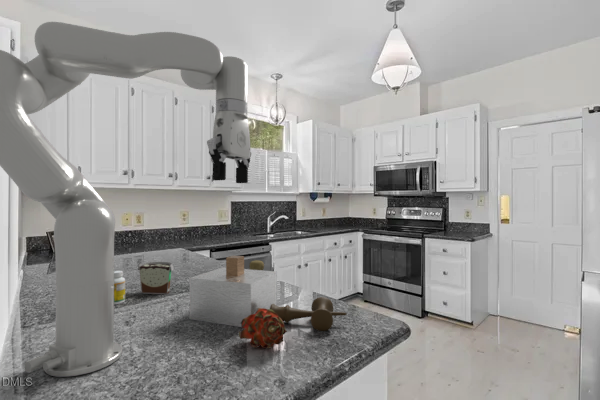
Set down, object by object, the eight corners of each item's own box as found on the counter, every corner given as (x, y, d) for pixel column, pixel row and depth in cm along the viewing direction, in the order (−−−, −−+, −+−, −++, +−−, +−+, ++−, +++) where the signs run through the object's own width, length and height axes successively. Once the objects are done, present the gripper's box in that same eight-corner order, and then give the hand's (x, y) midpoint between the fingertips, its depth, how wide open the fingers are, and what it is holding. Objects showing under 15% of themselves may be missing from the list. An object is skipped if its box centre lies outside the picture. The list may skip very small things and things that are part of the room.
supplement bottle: (128, 301, 102) (129, 271, 102) (111, 306, 97) (112, 274, 97) (118, 299, 105) (118, 269, 105) (101, 303, 100) (102, 272, 100)
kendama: (273, 318, 89) (346, 318, 87) (266, 333, 79) (348, 333, 77) (272, 296, 89) (345, 296, 87) (265, 308, 79) (347, 308, 77)
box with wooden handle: (250, 328, 80) (250, 263, 80) (189, 319, 86) (189, 259, 86) (276, 309, 94) (276, 254, 95) (222, 302, 101) (222, 251, 101)
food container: (179, 289, 116) (180, 261, 117) (171, 294, 110) (171, 265, 110) (147, 288, 118) (147, 261, 118) (137, 293, 112) (137, 264, 112)
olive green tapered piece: (244, 293, 111) (245, 261, 111) (252, 289, 117) (252, 258, 117) (261, 295, 109) (261, 262, 109) (268, 290, 115) (268, 259, 115)
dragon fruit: (283, 362, 66) (243, 355, 73) (300, 327, 72) (262, 323, 79) (263, 336, 62) (223, 330, 69) (282, 301, 68) (244, 299, 76)
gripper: (224, 98, 69) (223, 178, 68) (262, 118, 85) (261, 183, 84) (195, 102, 71) (194, 179, 71) (237, 121, 87) (237, 184, 87)
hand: (231, 181), depth 78 cm, fingers open, 9 cm apart
